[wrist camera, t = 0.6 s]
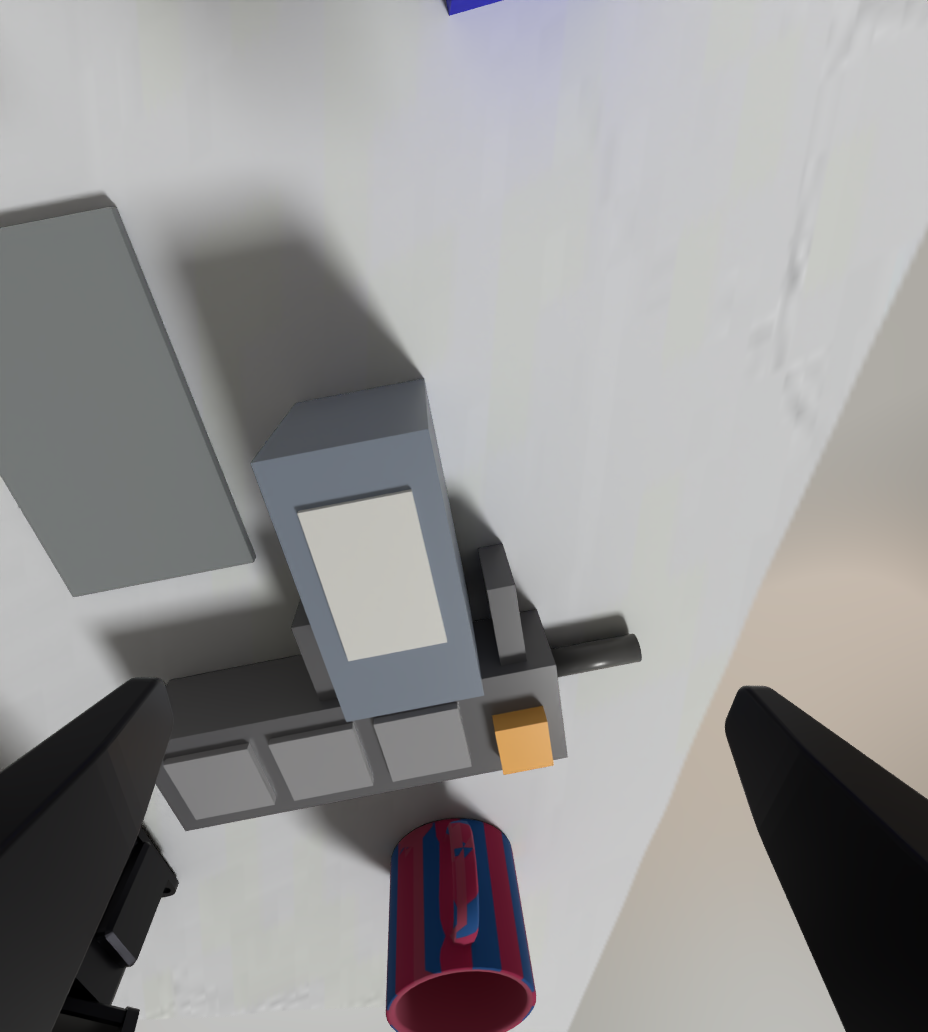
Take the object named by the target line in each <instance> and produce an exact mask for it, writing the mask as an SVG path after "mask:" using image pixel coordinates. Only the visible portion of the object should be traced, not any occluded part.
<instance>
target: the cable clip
mask: <svg viewBox="0 0 928 1032" xmlns="http://www.w3.org/2000/svg"><path fill="white" fill-rule="evenodd" d="M498 1H502V0H446V3H447V8H448V13H449V16H450V15H453V14H457V13H460V12H464V11H467V10H471V9H474V8H477V7H481V6H484V5H488V4H491V3H495V2H498Z"/></svg>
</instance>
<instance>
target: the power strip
mask: <svg viewBox="0 0 928 1032" xmlns="http://www.w3.org/2000/svg"><path fill="white" fill-rule="evenodd" d="M478 551H479V557H480V562H481V568H482V573H483V578H484V584H485V589H486V594H487V600H488V605H489V611H490V616H491V618H490V619H484V620H479V621H474V622H473V628H474V635H475V641H476V647H477V653H478V660H479V666H480V672H481V678H482V685H483V691H484V696H480V697H474V698H469V699H464V700H459V701H454V702H448V703H443V704H438V705H433V706H428V707H422V708H417V709H412V710H407V711H402V712H396V713H391V714H386V715H381V716H376V717H370V718H365V719H360V720H355V721H350V722H346V720H345V717H344V714H343V712H342V709H341V706H340V703H339V701H338V698H337V695H336V693H335V690H334V687H333V685H332V682H331V679H330V677H329V674H328V671H327V668H326V666H325V663H324V660H323V658H322V655H321V652H320V650H319V647H318V644H317V641H316V639H315V636H314V633H313V631H312V628H311V625H310V623H309V620H308V617H307V614H306V612H305V609H304V606H303V604H302V601H301V599H300V602H299V605H298V608H297V611H296V614H295V618H294V621H293V624H292V627H291V629H292V632H293V634H294V637H295V639H296V642H297V644H298V647H299V650H300V652H301V655H298V656H293V657H288V658H283V659H278V660H273V661H267V662H262V663H257V664H252V665H247V666H242V667H236V668H231V669H226V670H221V671H216V672H210V673H205V674H200V675H195V676H190V677H185V678H179V679H174V680H169V682H168V684H167V686H166V689H167V693H168V696H169V700H170V704H171V708H172V712H173V716H174V725H173V730H172V734H171V737H170V740H169V743H168V746H167V749H166V752H165V755H164V759H163V762H162V765H161V768H160V771H159V774H158V777H157V780H156V783H155V784H156V785H157V787H158V788H159V790H160V791H161V793H162V795H163V796H164V798H165V799H166V801H167V803H168V804H169V806H170V807H171V809H172V811H173V812H174V814H175V815H176V817H177V818H178V820H179V822H180V823H181V825H182V826H183V828H184V830H185V831H189V830H194V829H199V828H204V827H210V826H215V825H220V824H225V823H230V822H235V821H241V820H246V819H251V818H256V817H261V816H266V815H272V814H277V813H282V812H287V811H292V810H297V809H303V808H308V807H313V806H318V805H323V804H328V803H334V802H339V801H344V800H349V799H354V798H359V797H365V796H370V795H375V794H380V793H385V792H390V791H396V790H401V789H406V788H411V787H416V786H421V785H427V784H432V783H437V782H442V781H447V780H452V779H458V778H463V777H468V776H473V775H478V774H483V773H489V772H494V771H499V770H503V774H504V775H506V774H511V773H516V772H522V771H527V770H532V769H537V768H542V767H547V766H553V765H554V764H553V760H556V759H561V758H566V757H568V756H567V748H566V740H565V732H564V724H563V716H562V709H561V701H560V693H559V685H558V677H562V676H567V675H573V674H578V673H583V672H588V671H593V670H598V669H604V668H609V667H614V666H619V665H624V664H629V663H635V662H640V661H641V659H642V656H641V649H640V645H639V642H638V640H637V638H636V636H635V635H634V634H629V635H623V636H618V637H613V638H608V639H603V640H598V641H592V642H587V643H582V644H577V645H572V646H567V647H561V648H556V649H550V646H549V643H548V640H547V637H546V634H545V632H544V629H543V626H542V623H541V620H540V617H539V614H538V611H537V609H536V610H531V611H526V612H521V613H519V607H518V600H517V594H516V587H515V583H514V580H513V576H512V573H511V570H510V567H509V563H508V560H507V557H506V553H505V550H504V547H503V544H498V545H493V546H488V547H483V548H478Z"/></svg>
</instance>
